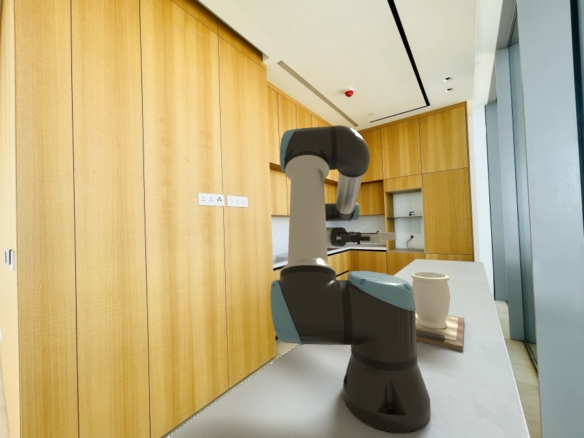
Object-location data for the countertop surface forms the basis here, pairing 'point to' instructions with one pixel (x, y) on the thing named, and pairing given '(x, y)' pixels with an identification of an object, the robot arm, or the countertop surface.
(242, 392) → the countertop surface
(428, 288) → the jar
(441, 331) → the clipboard
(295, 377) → the countertop surface
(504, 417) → the countertop surface
